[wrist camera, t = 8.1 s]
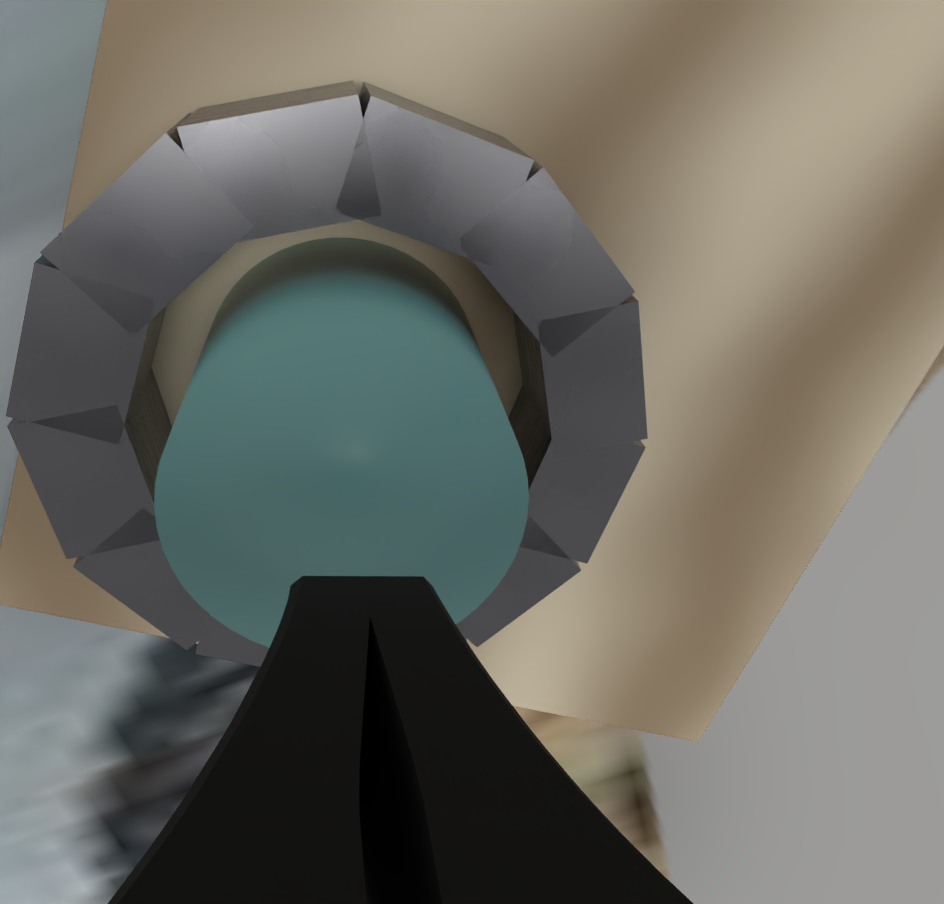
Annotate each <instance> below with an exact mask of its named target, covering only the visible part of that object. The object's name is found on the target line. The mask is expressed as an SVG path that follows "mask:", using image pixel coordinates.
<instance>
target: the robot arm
mask: <svg viewBox="0 0 944 904" xmlns="http://www.w3.org/2000/svg"><path fill="white" fill-rule="evenodd" d="M108 904H693V903H692V902H691V901H690V900H689V899H688V898H687V897H686V896H685V895H684V894H683V893H681V892H680V891H679V890H678V889H677V888H676V887H675V886H674V885H673V884H672V883H671V882H670V881H669V880H668V879H667V878H665V877H664V876H663V875H662V874H661V873H660V872H659V871H658V870H657V869H656V868H655V867H654V866H653V865H652V864H651V863H650V862H649V861H648V860H647V859H646V858H645V857H644V856H643V855H642V854H641V853H640V852H639V851H638V850H637V849H636V848H635V847H634V846H633V845H632V844H631V843H630V842H629V841H628V840H627V839H626V838H625V837H624V836H623V835H622V834H621V833H620V832H619V831H618V829H617V828H616V827H615V826H614V825H613V824H612V823H611V822H610V821H609V820H608V819H607V818H606V817H605V816H604V815H603V813H602V812H601V811H600V810H599V809H598V808H597V807H596V806H595V805H594V804H593V803H592V801H591V800H590V799H589V798H588V797H587V796H586V795H585V794H584V793H583V791H582V790H581V789H580V788H579V787H578V786H577V785H576V783H575V782H574V781H573V780H572V779H571V778H570V776H569V775H568V774H567V773H566V772H565V771H564V769H563V768H562V767H561V766H560V765H559V763H558V762H557V761H556V760H555V759H554V758H553V756H552V755H551V754H550V753H549V752H548V751H547V749H546V748H545V747H544V746H543V744H542V743H541V742H540V741H539V739H538V738H537V737H536V736H535V734H534V733H533V732H532V731H531V729H530V728H529V727H528V726H527V724H526V723H525V722H524V720H523V719H522V718H521V716H520V715H519V714H518V712H517V711H516V710H515V708H514V707H513V706H512V704H511V703H510V702H509V700H508V699H507V698H506V696H505V695H504V694H503V692H502V691H501V690H500V688H499V687H498V686H497V684H496V683H495V682H494V681H493V679H492V678H491V676H490V675H489V673H488V672H487V671H486V669H485V668H484V666H483V665H482V664H481V662H480V661H479V659H478V658H477V656H476V655H475V653H474V652H473V650H472V649H471V647H470V646H469V644H468V643H467V641H466V640H465V638H464V637H463V635H462V634H461V632H460V631H459V629H458V627H457V626H456V624H455V623H454V621H453V620H452V618H451V616H450V615H449V613H448V611H447V610H446V608H445V606H444V605H443V603H442V601H441V600H440V598H439V596H438V595H437V593H436V591H435V589H434V587H433V586H432V585H431V584H430V583H429V582H428V581H427V580H426V579H425V578H424V576H302V577H300V578H299V579H298V580H297V581H295V582H294V583H293V584H292V585H291V586H290V591H289V597H288V601H287V604H286V607H285V610H284V613H283V616H282V619H281V622H280V624H279V627H278V629H277V632H276V634H275V636H274V639H273V641H272V643H271V645H270V648H269V650H268V652H267V654H266V656H265V659H264V661H263V663H262V665H261V667H260V669H259V671H258V673H257V675H256V676H255V678H254V680H253V682H252V684H251V686H250V688H249V690H248V692H247V694H246V695H245V697H244V699H243V701H242V703H241V705H240V707H239V709H238V711H237V713H236V714H235V716H234V718H233V720H232V722H231V723H230V725H229V727H228V728H227V730H226V732H225V734H224V735H223V737H222V738H221V740H220V742H219V743H218V745H217V746H216V748H215V750H214V751H213V753H212V754H211V756H210V758H209V759H208V761H207V762H206V764H205V766H204V767H203V769H202V770H201V772H200V774H199V775H198V777H197V778H196V780H195V782H194V783H193V785H192V787H191V788H190V790H189V791H188V793H187V795H186V796H185V798H184V799H183V801H182V802H181V804H180V805H179V806H178V808H177V809H176V811H175V812H174V814H173V815H172V817H171V818H170V820H169V821H168V822H167V824H166V825H165V827H164V828H163V830H162V831H161V833H160V834H159V835H158V837H157V838H156V840H155V841H154V842H153V844H152V845H151V847H150V848H149V849H148V851H147V852H146V854H145V855H144V856H143V858H142V859H141V860H140V862H139V863H138V864H137V866H136V867H135V868H134V870H133V871H132V872H131V874H130V875H129V876H128V878H127V879H126V880H125V882H124V883H123V884H122V886H121V887H120V888H119V890H118V891H117V892H116V894H115V895H114V896H113V898H112V899H111V900H110V901H109V903H108Z"/></svg>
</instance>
